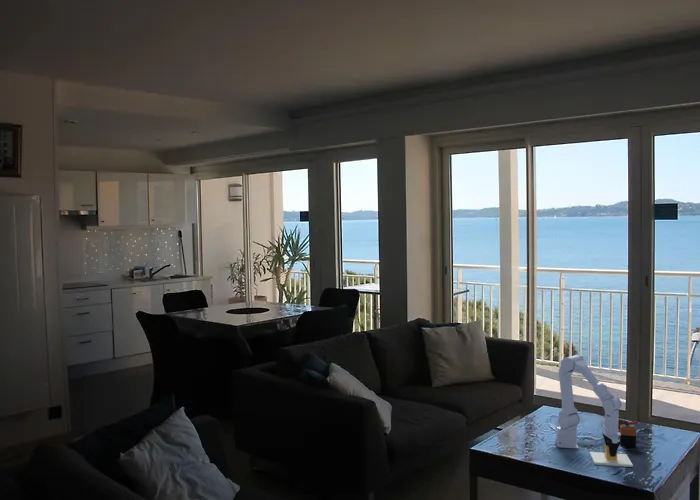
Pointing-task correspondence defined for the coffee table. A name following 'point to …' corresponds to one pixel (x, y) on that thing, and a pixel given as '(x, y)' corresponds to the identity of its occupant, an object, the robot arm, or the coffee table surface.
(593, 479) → the coffee table surface
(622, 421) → the decorative bird figurine
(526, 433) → the coffee table surface
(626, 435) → the battery
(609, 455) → the tan cardboard-like box
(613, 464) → the plate
